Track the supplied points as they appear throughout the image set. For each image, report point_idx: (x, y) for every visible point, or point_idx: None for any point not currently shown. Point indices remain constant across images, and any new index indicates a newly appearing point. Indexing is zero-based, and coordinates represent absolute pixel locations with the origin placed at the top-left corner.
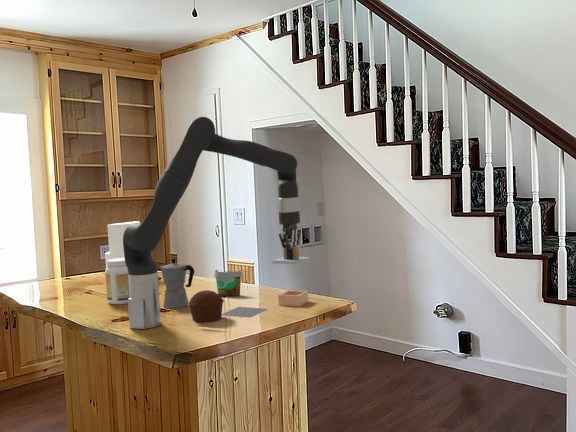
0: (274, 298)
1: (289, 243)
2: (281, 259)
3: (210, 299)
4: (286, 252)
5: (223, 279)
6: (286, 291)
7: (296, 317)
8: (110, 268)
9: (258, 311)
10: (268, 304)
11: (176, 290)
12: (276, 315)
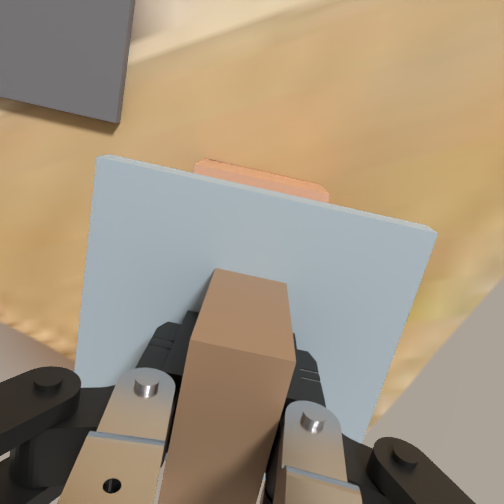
0: (431, 68)
1: (282, 453)
2: (191, 245)
3: None
4: (141, 356)
5: None
6: (296, 191)
7: (30, 287)
8: None
9: (50, 84)
10: (272, 76)
11: None
12: (46, 189)
